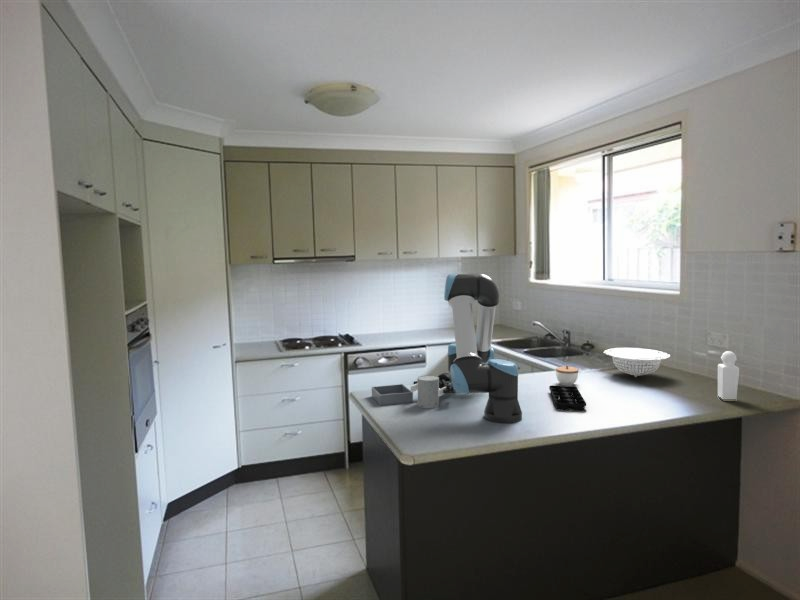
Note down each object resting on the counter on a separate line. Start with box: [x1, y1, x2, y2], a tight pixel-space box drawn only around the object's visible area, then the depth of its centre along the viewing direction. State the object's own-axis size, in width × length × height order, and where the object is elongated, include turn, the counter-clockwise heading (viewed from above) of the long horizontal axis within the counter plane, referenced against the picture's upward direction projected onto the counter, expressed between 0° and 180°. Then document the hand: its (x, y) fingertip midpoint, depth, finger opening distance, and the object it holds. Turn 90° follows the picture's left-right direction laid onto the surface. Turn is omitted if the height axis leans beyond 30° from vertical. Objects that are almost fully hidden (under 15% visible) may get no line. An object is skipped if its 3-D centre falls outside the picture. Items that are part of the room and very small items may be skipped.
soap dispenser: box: [717, 350, 740, 400], centre depth 234 cm, size 6×6×22 cm
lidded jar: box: [555, 365, 579, 386], centre depth 266 cm, size 11×11×9 cm
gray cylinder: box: [416, 374, 440, 409], centre depth 233 cm, size 10×10×12 cm
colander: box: [603, 347, 671, 378], centre depth 277 cm, size 32×32×13 cm
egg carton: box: [548, 385, 587, 412], centre depth 237 cm, size 18×30×4 cm, turn 2°
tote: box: [371, 383, 414, 406], centre depth 243 cm, size 15×15×4 cm
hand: (424, 391), depth 231 cm, fingers open, 13 cm apart
